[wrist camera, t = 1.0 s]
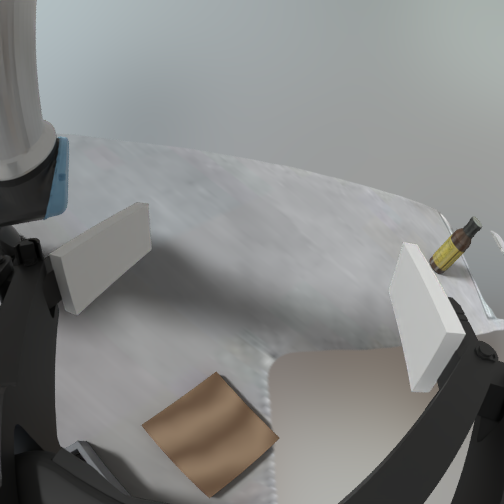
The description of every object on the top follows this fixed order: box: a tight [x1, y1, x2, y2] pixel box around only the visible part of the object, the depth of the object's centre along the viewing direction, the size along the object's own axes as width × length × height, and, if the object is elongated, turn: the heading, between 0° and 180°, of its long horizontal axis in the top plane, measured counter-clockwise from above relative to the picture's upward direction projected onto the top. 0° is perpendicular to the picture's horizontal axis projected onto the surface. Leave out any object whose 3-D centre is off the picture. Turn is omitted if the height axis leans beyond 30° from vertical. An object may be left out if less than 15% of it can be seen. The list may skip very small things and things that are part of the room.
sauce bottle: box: [430, 217, 482, 274], centre depth 68 cm, size 6×6×20 cm
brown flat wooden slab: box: [142, 372, 279, 498], centre depth 35 cm, size 14×14×2 cm
